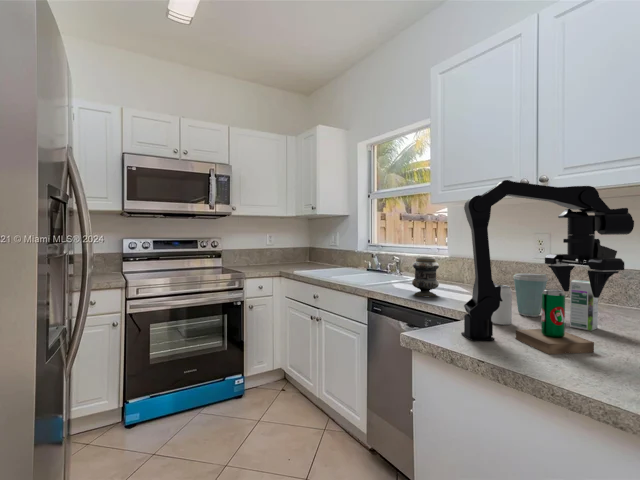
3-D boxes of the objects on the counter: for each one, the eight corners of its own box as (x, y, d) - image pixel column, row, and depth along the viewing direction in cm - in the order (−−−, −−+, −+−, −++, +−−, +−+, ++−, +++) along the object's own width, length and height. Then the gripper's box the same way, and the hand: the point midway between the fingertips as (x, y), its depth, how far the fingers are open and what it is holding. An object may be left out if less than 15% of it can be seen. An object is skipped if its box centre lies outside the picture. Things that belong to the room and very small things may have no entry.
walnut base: (548, 354, 83) (548, 343, 83) (515, 338, 95) (515, 329, 95) (593, 352, 84) (594, 342, 84) (555, 337, 96) (555, 328, 96)
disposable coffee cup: (505, 312, 125) (506, 271, 125) (527, 310, 129) (527, 270, 128) (532, 319, 115) (533, 275, 115) (554, 316, 119) (555, 273, 118)
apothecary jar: (435, 298, 151) (436, 258, 151) (408, 296, 157) (409, 257, 157) (441, 294, 162) (441, 256, 161) (415, 292, 168) (415, 255, 167)
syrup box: (569, 327, 106) (569, 280, 106) (576, 324, 109) (576, 279, 109) (591, 331, 101) (592, 282, 101) (598, 328, 105) (599, 281, 104)
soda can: (542, 331, 93) (543, 287, 92) (565, 335, 89) (566, 289, 89) (539, 336, 89) (540, 290, 89) (563, 340, 86) (564, 292, 85)
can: (484, 321, 113) (485, 285, 113) (498, 319, 116) (499, 284, 115) (502, 326, 107) (502, 288, 107) (516, 324, 110) (516, 287, 109)
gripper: (645, 234, 81) (645, 300, 81) (579, 234, 99) (578, 287, 100) (602, 235, 80) (602, 301, 80) (543, 235, 98) (543, 288, 99)
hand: (580, 294), depth 90 cm, fingers open, 9 cm apart
